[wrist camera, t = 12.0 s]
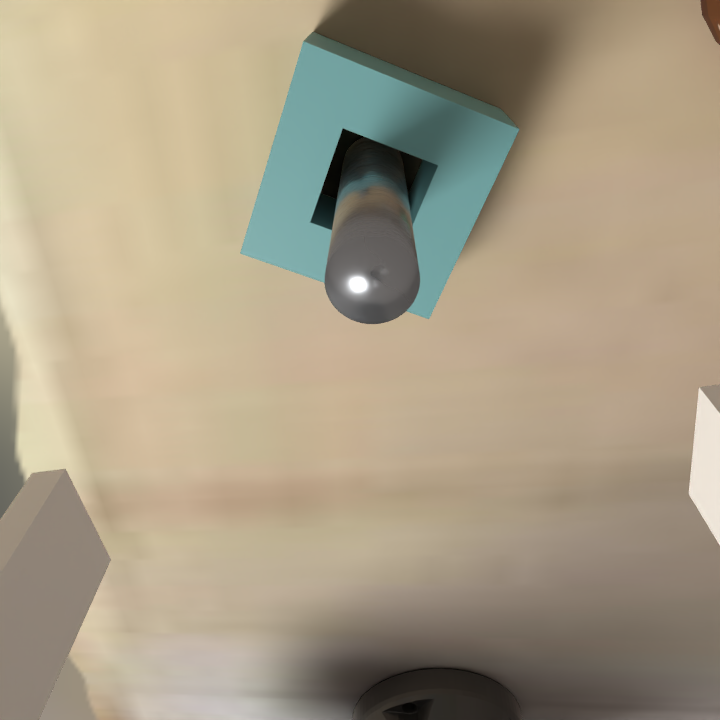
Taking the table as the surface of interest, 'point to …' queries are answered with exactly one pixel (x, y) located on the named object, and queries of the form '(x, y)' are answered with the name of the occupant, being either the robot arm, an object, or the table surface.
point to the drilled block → (387, 126)
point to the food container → (712, 16)
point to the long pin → (372, 237)
